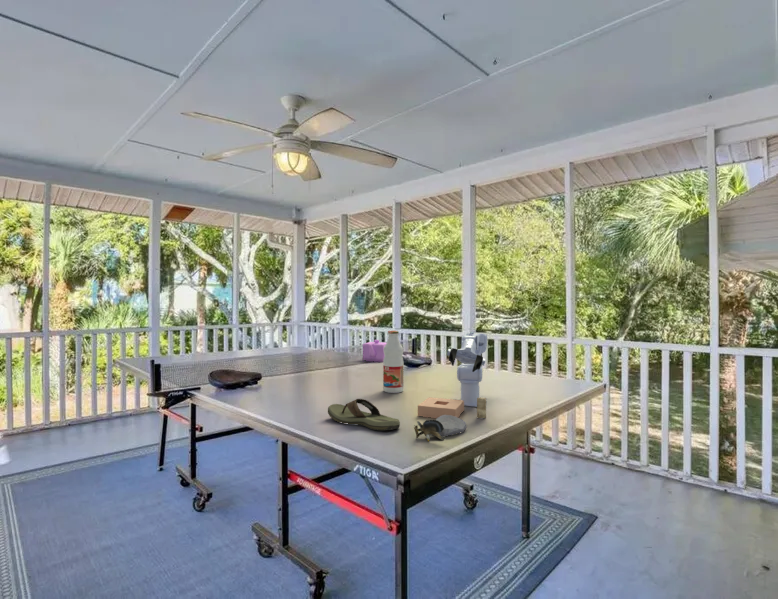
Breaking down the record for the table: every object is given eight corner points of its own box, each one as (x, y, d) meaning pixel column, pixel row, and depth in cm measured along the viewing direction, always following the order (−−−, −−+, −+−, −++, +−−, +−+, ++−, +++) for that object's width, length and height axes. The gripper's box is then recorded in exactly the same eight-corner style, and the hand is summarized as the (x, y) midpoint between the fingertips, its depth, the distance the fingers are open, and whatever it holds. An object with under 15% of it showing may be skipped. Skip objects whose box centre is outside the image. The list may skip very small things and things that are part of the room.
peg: (477, 416, 161) (477, 397, 161) (486, 417, 160) (486, 398, 160) (476, 418, 158) (476, 399, 158) (485, 419, 157) (485, 399, 157)
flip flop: (322, 420, 157) (322, 397, 157) (346, 413, 167) (346, 391, 166) (384, 437, 139) (384, 410, 139) (407, 428, 148) (407, 403, 148)
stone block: (468, 435, 146) (443, 423, 152) (470, 421, 145) (445, 410, 151) (449, 446, 136) (423, 433, 143) (451, 431, 136) (425, 419, 142)
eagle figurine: (416, 440, 131) (445, 435, 131) (412, 417, 135) (440, 412, 134) (417, 447, 137) (446, 442, 137) (414, 424, 141) (441, 419, 141)
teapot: (358, 362, 290) (358, 341, 290) (373, 357, 313) (373, 337, 313) (379, 363, 284) (379, 342, 284) (393, 358, 307) (393, 338, 307)
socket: (428, 407, 174) (428, 397, 174) (464, 410, 169) (464, 400, 169) (417, 416, 161) (417, 405, 161) (455, 420, 156) (455, 409, 156)
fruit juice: (407, 391, 203) (407, 331, 203) (392, 394, 197) (392, 332, 196) (393, 388, 210) (393, 329, 210) (379, 390, 204) (379, 330, 203)
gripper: (451, 337, 172) (446, 351, 159) (488, 347, 169) (485, 362, 156) (447, 353, 174) (442, 368, 162) (484, 363, 171) (481, 379, 159)
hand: (463, 366), depth 159 cm, fingers open, 7 cm apart
